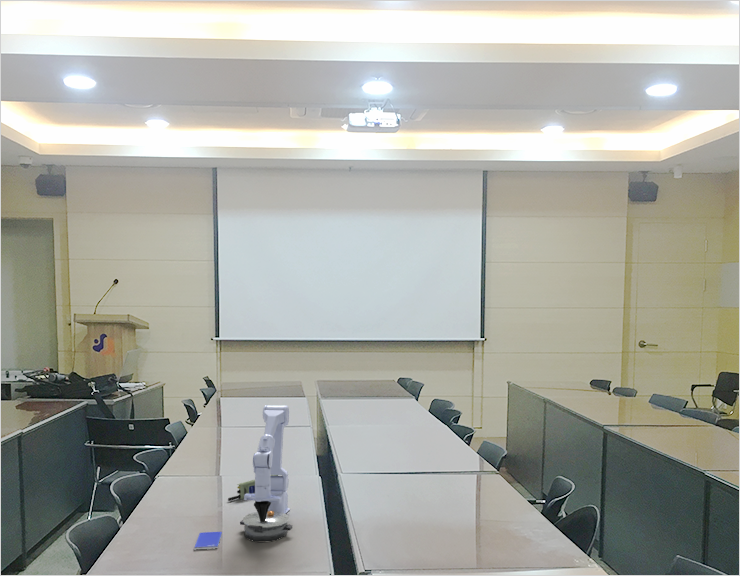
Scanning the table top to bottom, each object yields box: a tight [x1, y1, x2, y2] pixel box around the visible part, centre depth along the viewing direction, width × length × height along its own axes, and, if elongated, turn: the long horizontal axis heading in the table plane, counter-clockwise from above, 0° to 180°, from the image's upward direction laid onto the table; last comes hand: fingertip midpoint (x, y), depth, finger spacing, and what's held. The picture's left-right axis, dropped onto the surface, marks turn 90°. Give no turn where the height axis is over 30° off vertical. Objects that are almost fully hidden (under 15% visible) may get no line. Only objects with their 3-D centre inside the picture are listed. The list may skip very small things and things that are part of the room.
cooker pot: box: [239, 519, 293, 542], centre depth 230 cm, size 18×20×4 cm
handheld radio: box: [227, 475, 279, 502], centre depth 268 cm, size 7×3×25 cm
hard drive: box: [193, 531, 223, 551], centre depth 221 cm, size 2×8×12 cm
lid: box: [242, 511, 290, 530], centre depth 228 cm, size 18×17×2 cm
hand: (262, 520), depth 226 cm, fingers closed, pressing on lid
